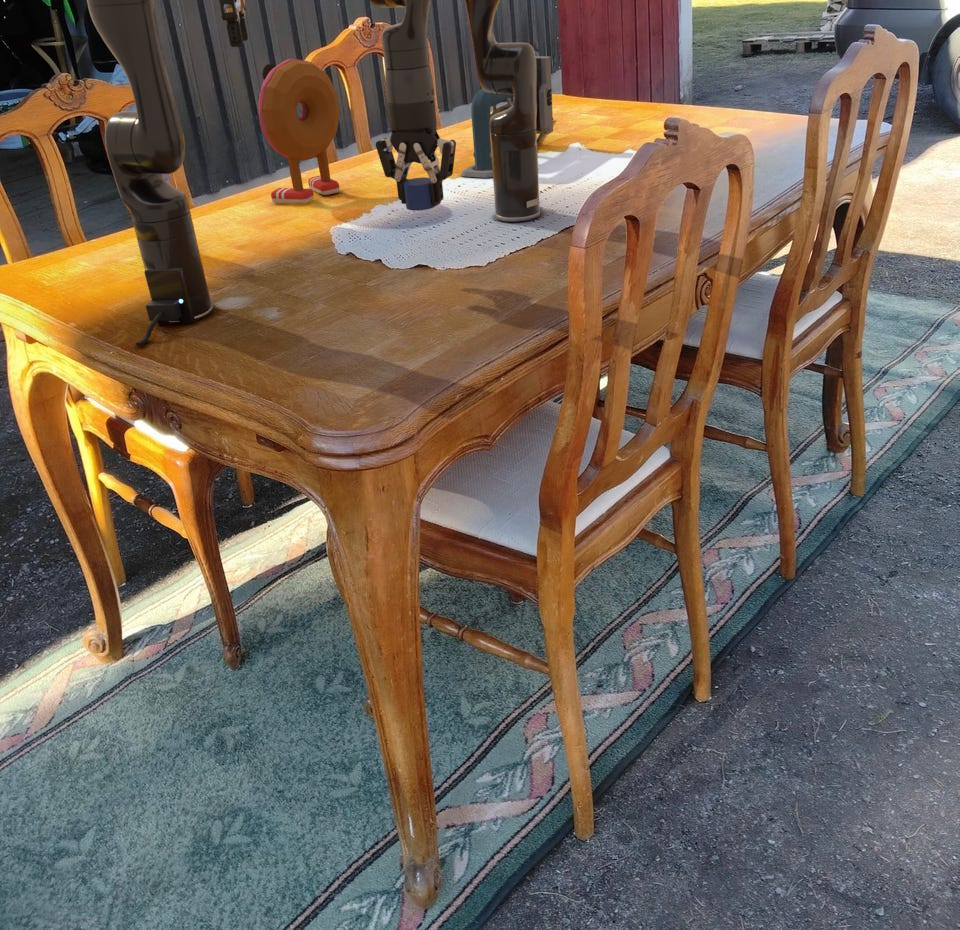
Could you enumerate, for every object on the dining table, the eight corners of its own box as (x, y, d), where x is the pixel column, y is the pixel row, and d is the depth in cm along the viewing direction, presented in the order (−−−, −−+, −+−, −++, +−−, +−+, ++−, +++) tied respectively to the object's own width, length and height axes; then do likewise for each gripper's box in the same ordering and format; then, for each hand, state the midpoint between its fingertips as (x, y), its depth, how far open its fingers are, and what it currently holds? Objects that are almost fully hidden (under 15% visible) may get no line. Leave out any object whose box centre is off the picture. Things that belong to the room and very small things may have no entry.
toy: (329, 182, 236) (308, 50, 220) (358, 186, 230) (339, 51, 215) (260, 205, 222) (234, 66, 207) (289, 210, 216) (264, 67, 201)
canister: (400, 206, 163) (398, 181, 161) (427, 200, 165) (424, 175, 163) (415, 212, 159) (412, 187, 157) (441, 206, 161) (439, 181, 159)
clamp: (490, 178, 228) (484, 82, 217) (458, 176, 232) (450, 81, 221) (553, 143, 254) (550, 56, 243) (523, 142, 258) (519, 56, 247)
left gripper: (238, -60, 159) (257, 46, 167) (247, -63, 171) (264, 36, 179) (192, -56, 158) (213, 50, 167) (204, -59, 171) (223, 40, 179)
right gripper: (359, 101, 153) (373, 208, 162) (440, 101, 147) (450, 212, 156) (382, 92, 159) (394, 195, 167) (461, 92, 153) (469, 199, 162)
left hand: (239, 43), depth 173 cm, fingers open, 8 cm apart
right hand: (421, 203), depth 162 cm, fingers closed on canister, 5 cm apart
